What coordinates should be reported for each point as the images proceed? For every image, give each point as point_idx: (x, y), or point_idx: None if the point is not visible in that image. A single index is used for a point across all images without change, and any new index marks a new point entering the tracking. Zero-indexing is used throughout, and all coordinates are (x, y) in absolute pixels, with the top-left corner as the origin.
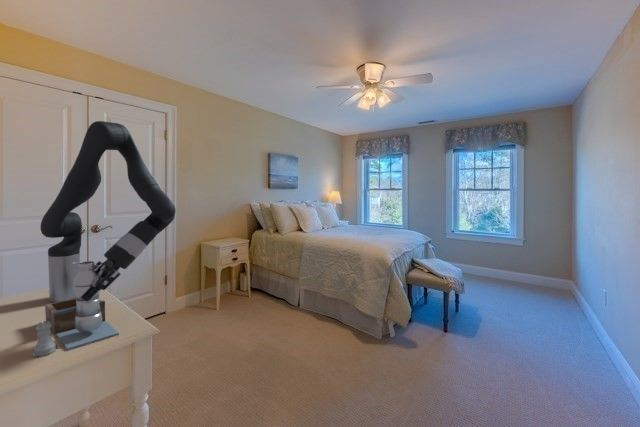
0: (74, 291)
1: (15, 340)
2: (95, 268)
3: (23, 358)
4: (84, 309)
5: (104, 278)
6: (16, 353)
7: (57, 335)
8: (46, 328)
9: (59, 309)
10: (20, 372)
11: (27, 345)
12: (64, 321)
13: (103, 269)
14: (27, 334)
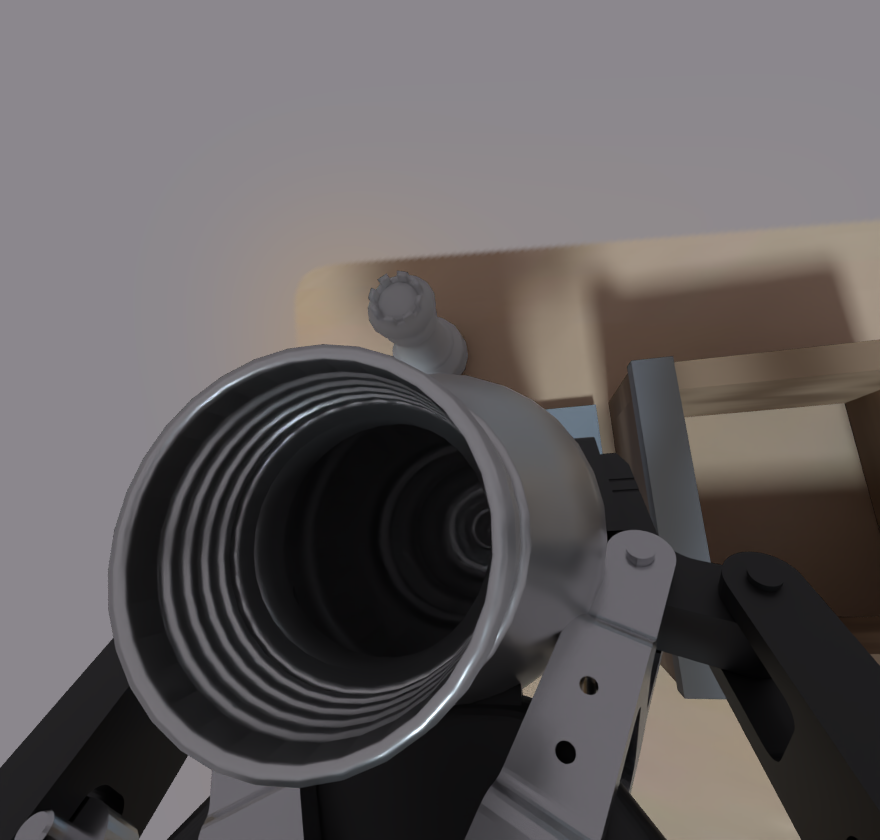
0: (585, 437)
1: (663, 267)
2: (858, 816)
3: (435, 300)
4: (415, 494)
5: (70, 690)
6: (503, 278)
7: (573, 407)
8: (369, 316)
9: None
10: (328, 296)
11: (562, 308)
12: (627, 429)
13: (210, 831)
14: (715, 304)
